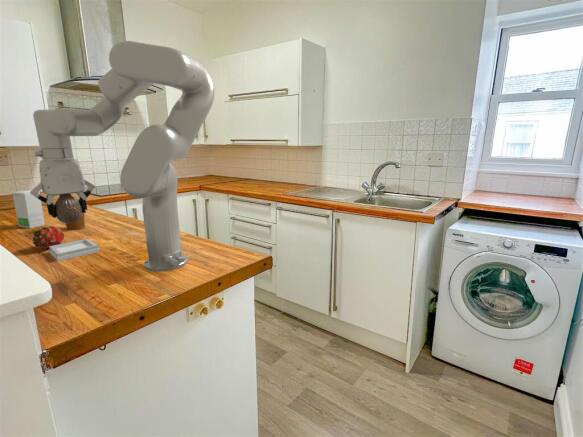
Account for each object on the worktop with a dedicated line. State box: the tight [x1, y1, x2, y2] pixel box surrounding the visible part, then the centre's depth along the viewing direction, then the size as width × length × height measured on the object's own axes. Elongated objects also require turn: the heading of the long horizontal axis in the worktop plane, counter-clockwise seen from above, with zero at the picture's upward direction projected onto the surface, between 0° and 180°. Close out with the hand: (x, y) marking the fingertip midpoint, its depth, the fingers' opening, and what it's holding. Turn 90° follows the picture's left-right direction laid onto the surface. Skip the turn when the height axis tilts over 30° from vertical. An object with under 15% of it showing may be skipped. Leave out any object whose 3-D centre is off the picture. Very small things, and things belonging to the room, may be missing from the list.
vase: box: [54, 193, 82, 224], centre depth 97 cm, size 7×7×9 cm
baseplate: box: [48, 238, 101, 262], centre depth 109 cm, size 12×12×2 cm
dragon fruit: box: [32, 225, 65, 251], centre depth 114 cm, size 8×8×12 cm
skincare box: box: [12, 189, 46, 229], centre depth 142 cm, size 8×7×16 cm
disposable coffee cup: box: [65, 198, 86, 231], centre depth 138 cm, size 10×10×12 cm
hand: (69, 214), depth 97 cm, fingers closed on vase, 7 cm apart
